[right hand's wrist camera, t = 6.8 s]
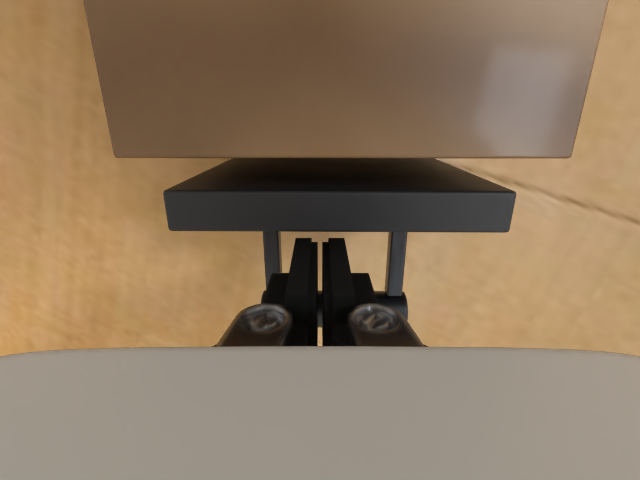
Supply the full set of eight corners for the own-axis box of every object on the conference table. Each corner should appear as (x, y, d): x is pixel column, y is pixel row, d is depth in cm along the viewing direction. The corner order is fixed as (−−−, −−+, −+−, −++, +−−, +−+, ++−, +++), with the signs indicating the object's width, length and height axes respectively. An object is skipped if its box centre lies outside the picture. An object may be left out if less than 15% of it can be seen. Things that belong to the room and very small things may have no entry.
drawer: (419, 274, 19) (481, 379, 12) (244, 273, 19) (190, 376, 12) (468, -184, 13) (677, -620, 5) (206, -180, 13) (36, -598, 5)
